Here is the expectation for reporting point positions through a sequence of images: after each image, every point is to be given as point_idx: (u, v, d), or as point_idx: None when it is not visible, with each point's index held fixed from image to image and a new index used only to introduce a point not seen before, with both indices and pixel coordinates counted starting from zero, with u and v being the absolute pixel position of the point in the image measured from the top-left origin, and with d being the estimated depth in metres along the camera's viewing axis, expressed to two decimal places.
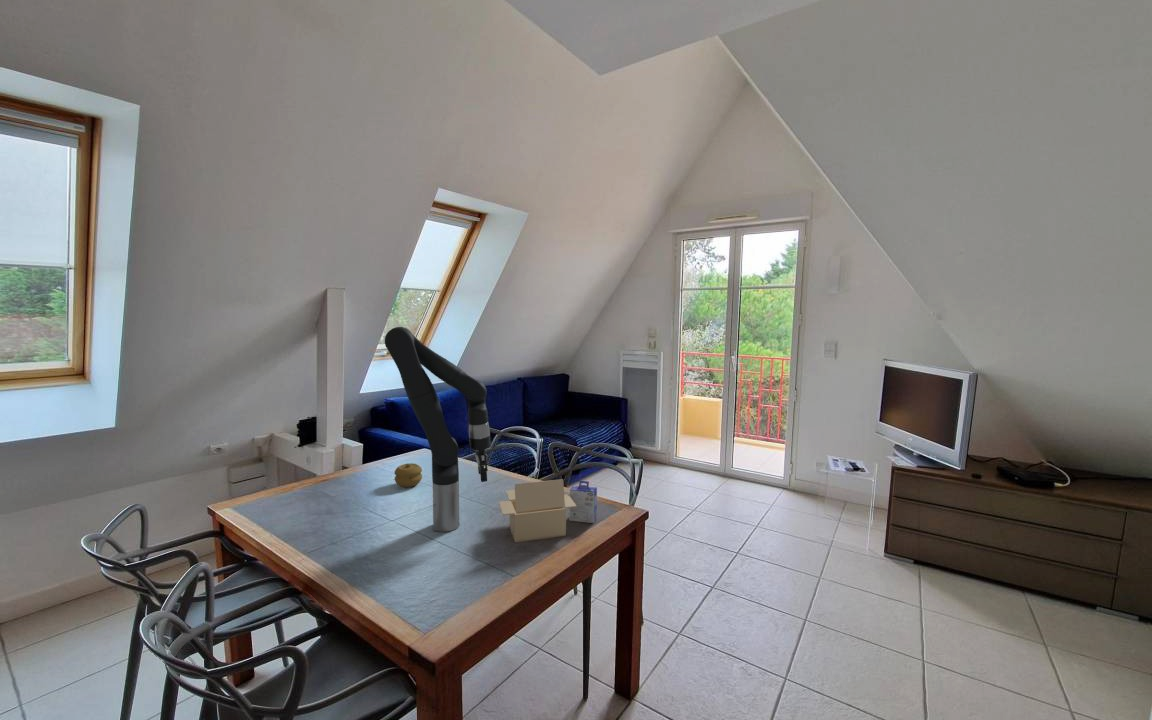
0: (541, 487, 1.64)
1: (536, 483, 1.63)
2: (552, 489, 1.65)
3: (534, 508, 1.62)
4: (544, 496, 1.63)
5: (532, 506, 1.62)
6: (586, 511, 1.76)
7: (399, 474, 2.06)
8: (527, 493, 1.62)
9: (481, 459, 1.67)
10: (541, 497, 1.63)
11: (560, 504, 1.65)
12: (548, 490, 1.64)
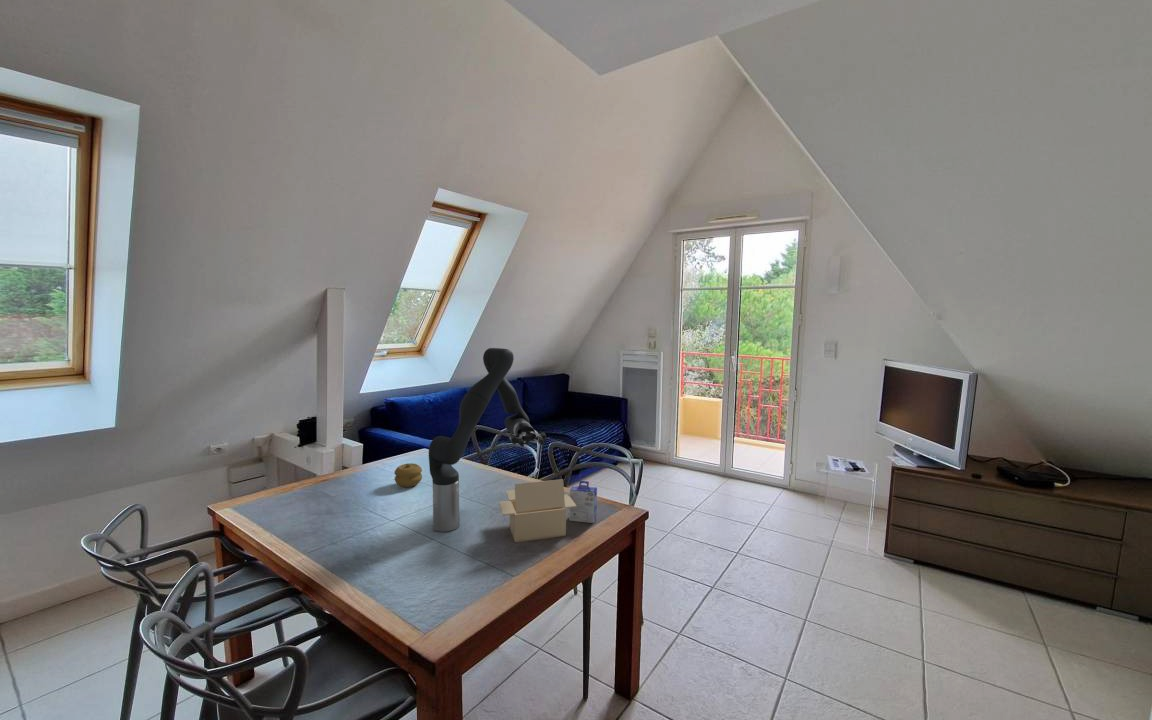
0: (541, 487, 1.64)
1: (536, 483, 1.63)
2: (552, 489, 1.65)
3: (534, 508, 1.62)
4: (544, 496, 1.63)
5: (532, 506, 1.62)
6: (586, 511, 1.76)
7: (399, 474, 2.06)
8: (527, 493, 1.62)
9: (544, 434, 1.84)
10: (541, 497, 1.63)
11: (560, 504, 1.65)
12: (548, 490, 1.64)
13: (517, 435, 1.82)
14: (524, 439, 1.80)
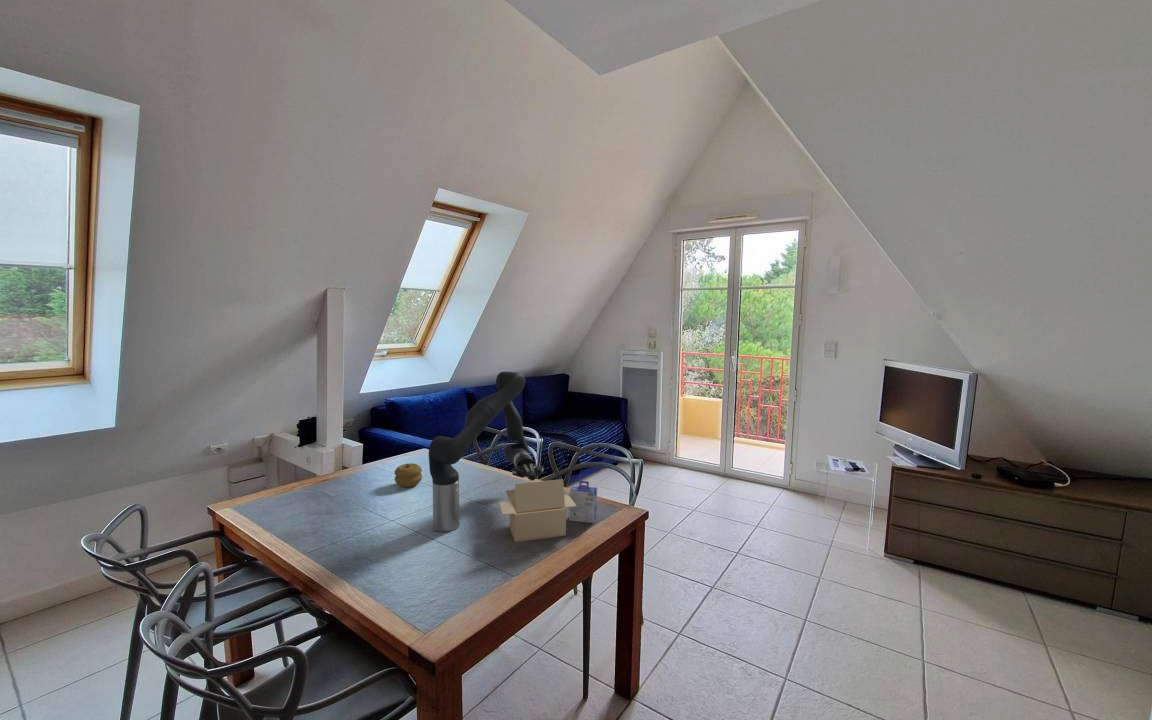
0: (541, 487, 1.64)
1: (536, 483, 1.63)
2: (552, 489, 1.65)
3: (534, 508, 1.62)
4: (544, 496, 1.63)
5: (532, 506, 1.62)
6: (586, 511, 1.76)
7: (399, 474, 2.06)
8: (527, 493, 1.62)
9: (542, 468, 1.84)
10: (541, 497, 1.63)
11: (560, 504, 1.65)
12: (548, 490, 1.64)
13: (519, 468, 1.83)
14: None
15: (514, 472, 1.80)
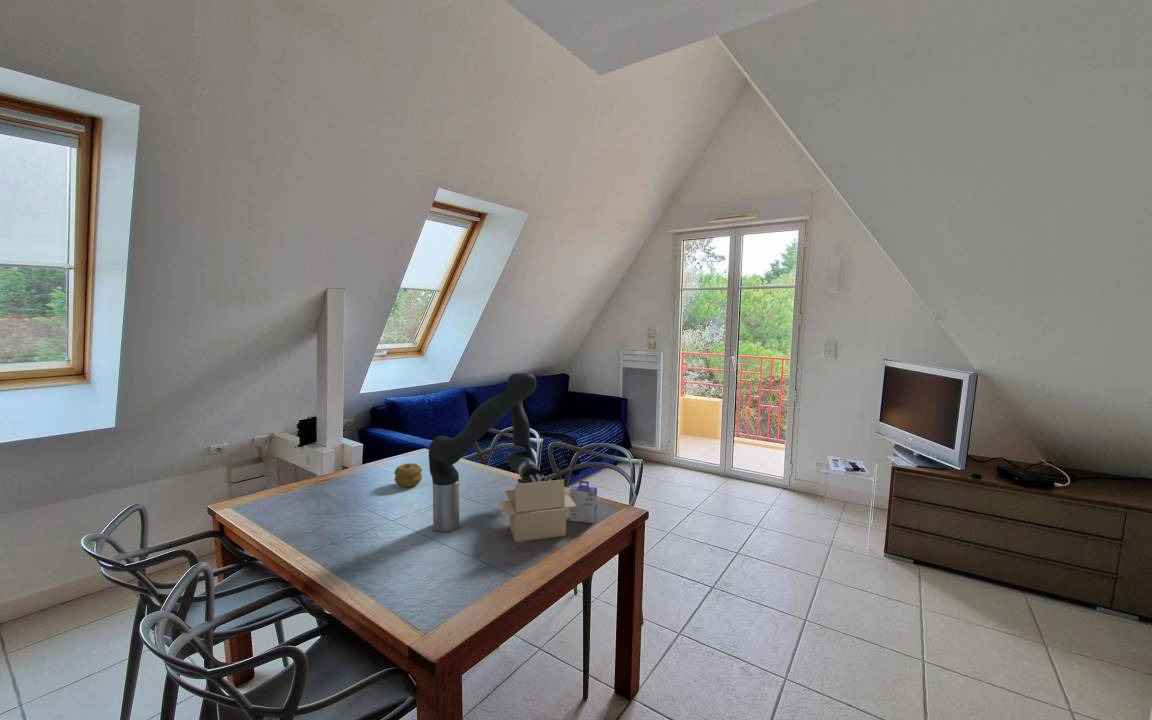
0: (541, 487, 1.63)
1: (536, 483, 1.63)
2: (552, 489, 1.64)
3: (534, 508, 1.62)
4: (544, 497, 1.63)
5: (532, 506, 1.62)
6: (586, 511, 1.76)
7: (399, 474, 2.06)
8: (527, 493, 1.61)
9: (550, 478, 1.72)
10: (541, 498, 1.63)
11: (560, 504, 1.64)
12: (548, 491, 1.64)
13: (525, 479, 1.71)
14: None
15: (520, 483, 1.69)
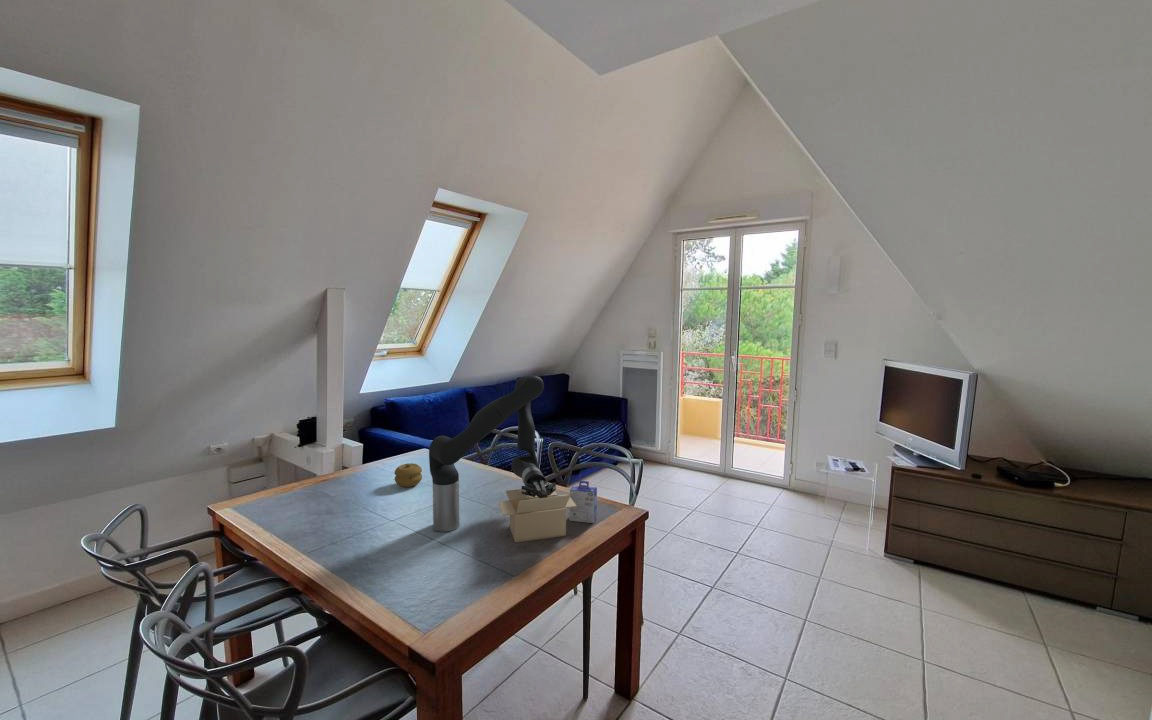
0: (546, 501, 1.57)
1: (542, 499, 1.55)
2: (556, 501, 1.59)
3: (535, 510, 1.61)
4: (547, 504, 1.60)
5: (533, 509, 1.60)
6: (586, 511, 1.76)
7: (399, 474, 2.06)
8: (530, 504, 1.57)
9: (554, 485, 1.66)
10: (544, 505, 1.60)
11: (561, 506, 1.64)
12: (552, 502, 1.59)
13: (528, 486, 1.65)
14: None
15: (523, 490, 1.63)
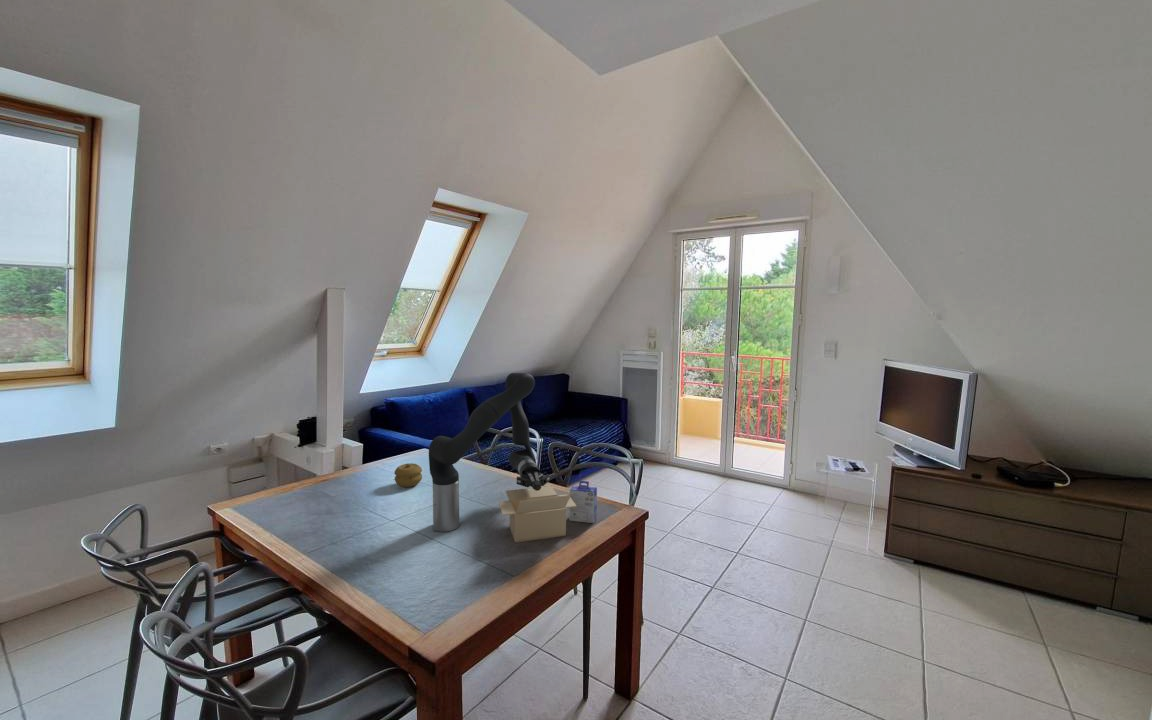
0: (546, 501, 1.57)
1: (542, 500, 1.55)
2: (556, 501, 1.59)
3: (535, 510, 1.61)
4: (547, 505, 1.60)
5: (533, 509, 1.60)
6: (586, 511, 1.76)
7: (399, 474, 2.06)
8: (530, 504, 1.57)
9: (548, 477, 1.75)
10: (544, 505, 1.60)
11: (561, 507, 1.64)
12: (552, 502, 1.59)
13: (523, 477, 1.74)
14: None
15: (518, 481, 1.72)
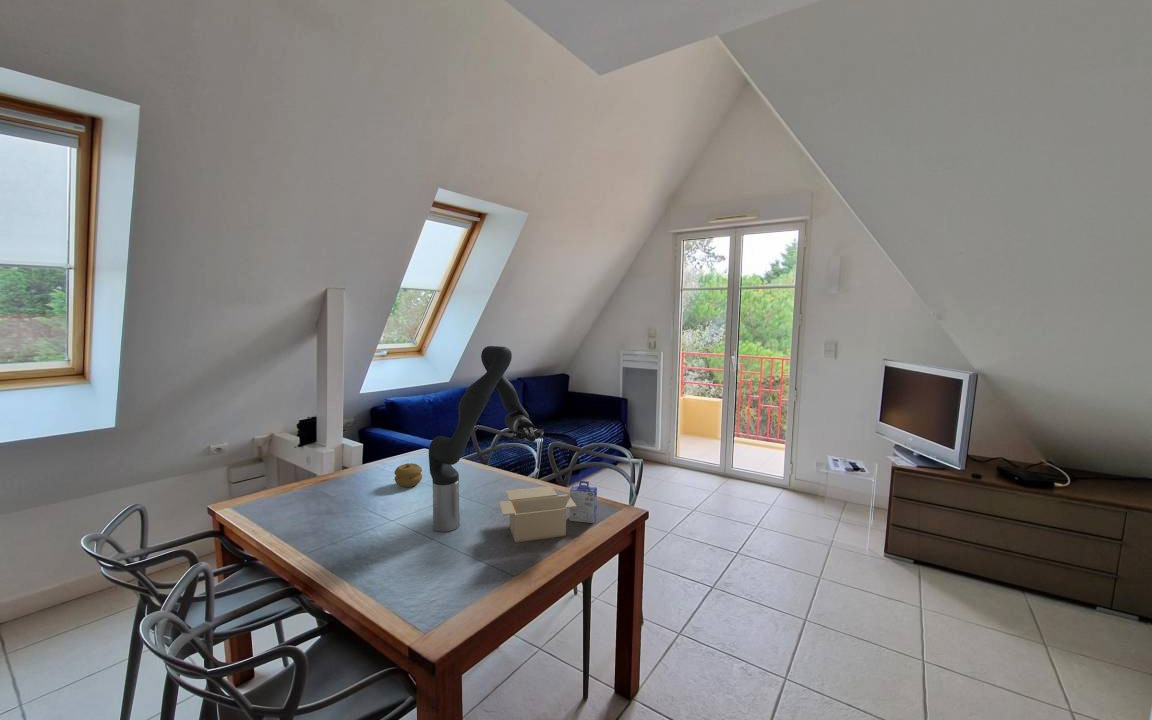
0: (546, 501, 1.57)
1: (542, 500, 1.55)
2: (556, 501, 1.59)
3: (535, 510, 1.61)
4: (547, 505, 1.60)
5: (533, 509, 1.60)
6: (586, 511, 1.76)
7: (399, 474, 2.06)
8: (530, 504, 1.57)
9: (542, 431, 1.82)
10: (544, 505, 1.60)
11: (561, 507, 1.64)
12: (552, 502, 1.59)
13: (518, 431, 1.81)
14: None
15: (514, 434, 1.79)
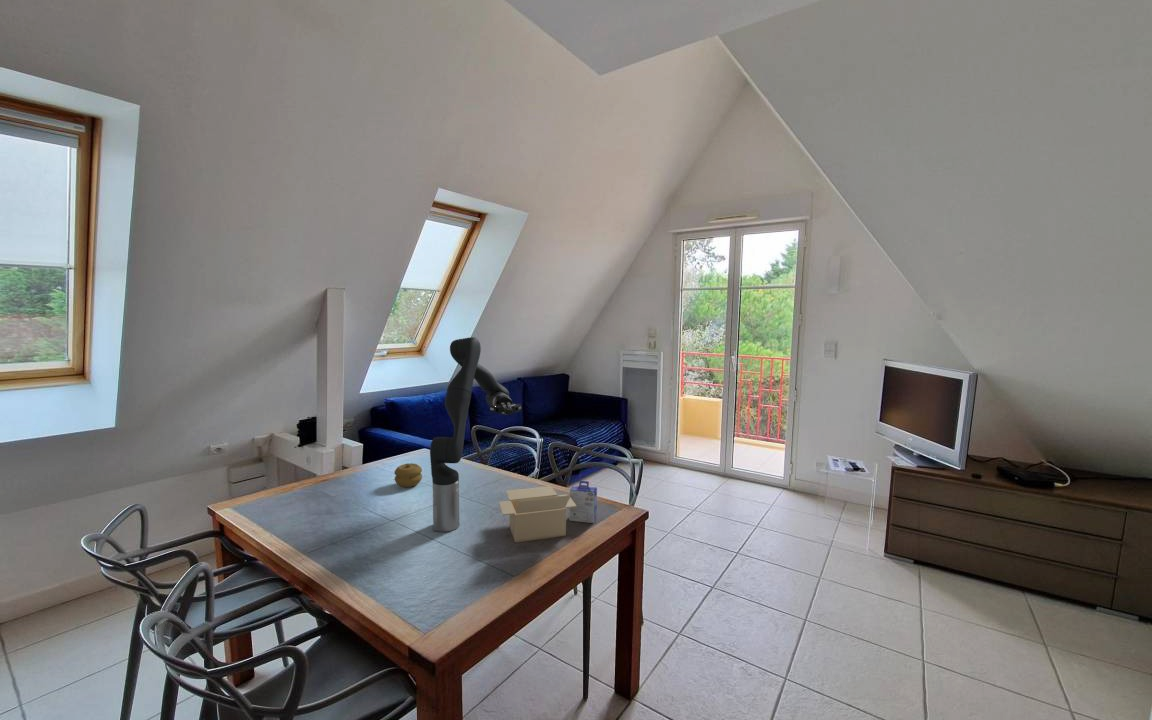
0: (546, 501, 1.57)
1: (542, 500, 1.55)
2: (556, 501, 1.59)
3: (535, 510, 1.61)
4: (547, 505, 1.60)
5: (533, 509, 1.60)
6: (586, 511, 1.76)
7: (399, 474, 2.06)
8: (530, 504, 1.57)
9: (520, 406, 1.89)
10: (544, 505, 1.60)
11: (561, 507, 1.64)
12: (552, 502, 1.59)
13: (497, 406, 1.88)
14: None
15: (492, 409, 1.86)
